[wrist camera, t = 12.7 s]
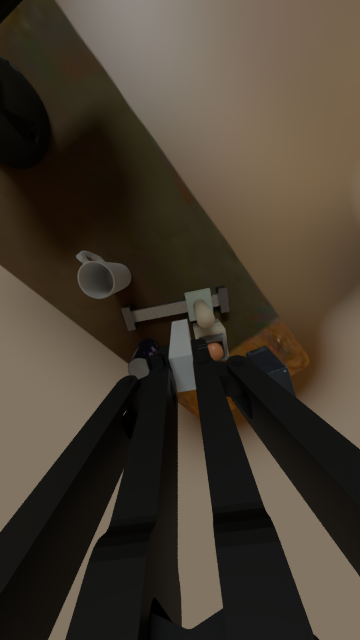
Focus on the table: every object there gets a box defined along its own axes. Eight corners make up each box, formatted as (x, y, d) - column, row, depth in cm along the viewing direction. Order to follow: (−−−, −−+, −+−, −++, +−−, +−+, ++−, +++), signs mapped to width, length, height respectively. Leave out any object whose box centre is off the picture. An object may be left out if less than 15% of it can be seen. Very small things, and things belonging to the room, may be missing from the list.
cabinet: (192, 323, 46) (195, 339, 36) (217, 318, 45) (228, 333, 35) (196, 346, 48) (201, 367, 38) (221, 342, 47) (231, 362, 38)
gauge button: (203, 341, 38) (205, 347, 35) (219, 338, 38) (222, 344, 35) (206, 355, 39) (207, 362, 36) (221, 352, 39) (224, 359, 36)
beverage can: (150, 358, 49) (141, 387, 38) (135, 347, 48) (121, 372, 37) (163, 346, 48) (157, 371, 37) (147, 333, 47) (136, 355, 35)
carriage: (184, 291, 43) (185, 304, 29) (207, 286, 42) (220, 297, 29) (189, 317, 45) (192, 340, 31) (211, 312, 44) (225, 334, 31)
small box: (244, 353, 49) (260, 375, 39) (266, 344, 48) (288, 365, 38) (254, 380, 52) (272, 408, 42) (275, 373, 51) (298, 399, 41)
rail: (125, 305, 44) (121, 308, 41) (223, 285, 42) (226, 287, 39) (132, 326, 46) (128, 331, 43) (225, 307, 44) (229, 311, 41)
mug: (138, 279, 42) (122, 284, 31) (118, 295, 43) (96, 305, 32) (110, 244, 40) (81, 236, 28) (90, 262, 41) (55, 261, 30)
